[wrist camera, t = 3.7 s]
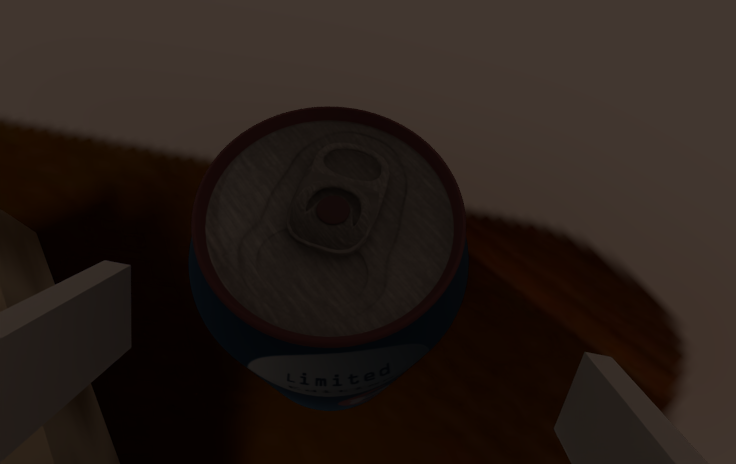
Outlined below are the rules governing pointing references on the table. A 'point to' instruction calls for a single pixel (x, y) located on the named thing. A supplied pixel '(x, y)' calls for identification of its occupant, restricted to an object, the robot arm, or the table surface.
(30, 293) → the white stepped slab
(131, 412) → the table surface
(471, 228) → the table surface
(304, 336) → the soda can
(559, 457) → the table surface
